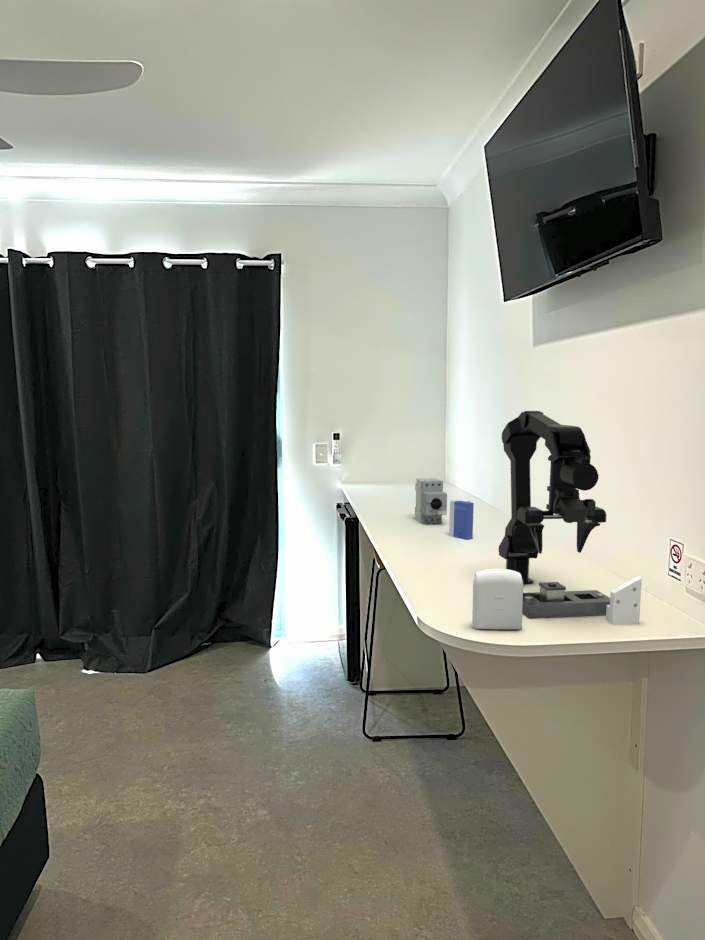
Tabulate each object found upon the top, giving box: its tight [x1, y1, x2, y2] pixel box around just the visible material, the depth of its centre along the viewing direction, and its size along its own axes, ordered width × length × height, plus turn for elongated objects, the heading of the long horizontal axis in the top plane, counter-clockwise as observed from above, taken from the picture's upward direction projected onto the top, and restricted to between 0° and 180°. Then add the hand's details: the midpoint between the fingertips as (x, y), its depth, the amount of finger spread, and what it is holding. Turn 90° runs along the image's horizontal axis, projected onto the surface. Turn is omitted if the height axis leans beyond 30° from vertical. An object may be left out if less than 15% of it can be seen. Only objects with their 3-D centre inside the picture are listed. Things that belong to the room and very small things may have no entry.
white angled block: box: [605, 575, 643, 625], centre depth 161 cm, size 4×10×9 cm, turn 92°
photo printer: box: [471, 568, 524, 630], centre depth 156 cm, size 10×4×12 cm, turn 88°
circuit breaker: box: [414, 477, 448, 525], centre depth 269 cm, size 8×14×15 cm, turn 14°
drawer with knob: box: [538, 581, 567, 602], centre depth 168 cm, size 4×4×6 cm
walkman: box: [448, 499, 474, 541], centre depth 245 cm, size 8×3×12 cm, turn 39°
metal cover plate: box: [522, 589, 610, 620], centre depth 169 cm, size 9×20×3 cm, turn 100°
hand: (559, 552), depth 169 cm, fingers open, 9 cm apart
